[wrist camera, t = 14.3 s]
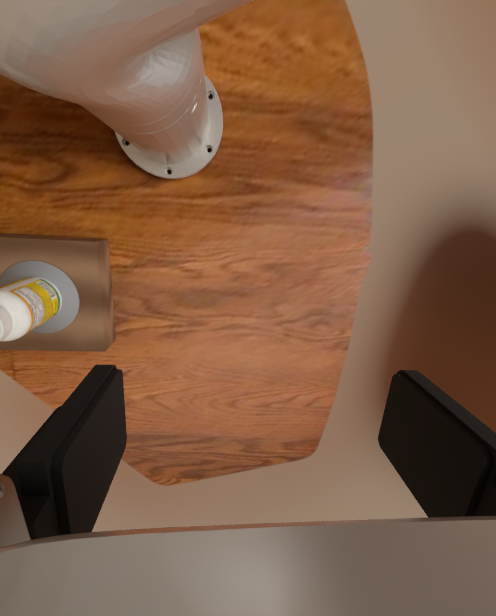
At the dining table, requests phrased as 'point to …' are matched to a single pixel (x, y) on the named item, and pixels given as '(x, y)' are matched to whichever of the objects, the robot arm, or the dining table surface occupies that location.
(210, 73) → the dining table surface
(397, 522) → the robot arm
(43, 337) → the walnut plinth
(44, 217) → the dining table surface
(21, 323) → the supplement bottle
